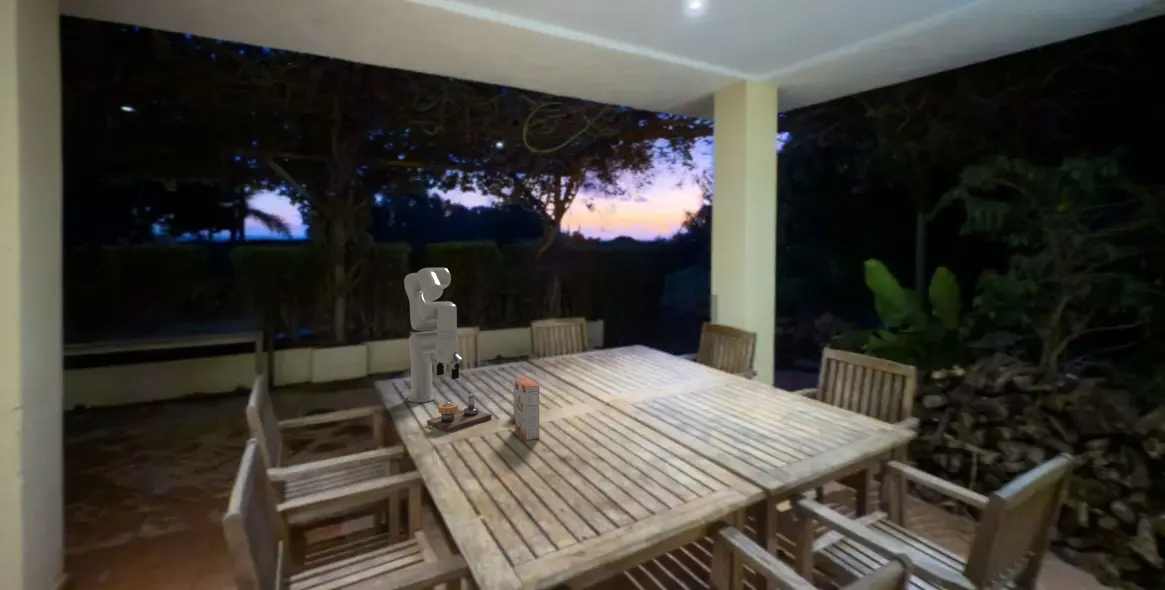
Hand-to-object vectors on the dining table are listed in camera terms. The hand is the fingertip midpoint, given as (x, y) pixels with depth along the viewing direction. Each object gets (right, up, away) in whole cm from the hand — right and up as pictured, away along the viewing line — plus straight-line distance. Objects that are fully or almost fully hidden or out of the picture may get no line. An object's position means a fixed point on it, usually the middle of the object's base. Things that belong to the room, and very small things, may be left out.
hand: (447, 376), depth 212 cm
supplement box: (+28, -19, +18) cm, 39 cm away
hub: (+7, -17, +11) cm, 22 cm away
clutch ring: (0, -14, +1) cm, 14 cm away
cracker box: (+33, -22, -7) cm, 40 cm away
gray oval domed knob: (0, -18, +2) cm, 18 cm away
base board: (+3, -20, +6) cm, 21 cm away
